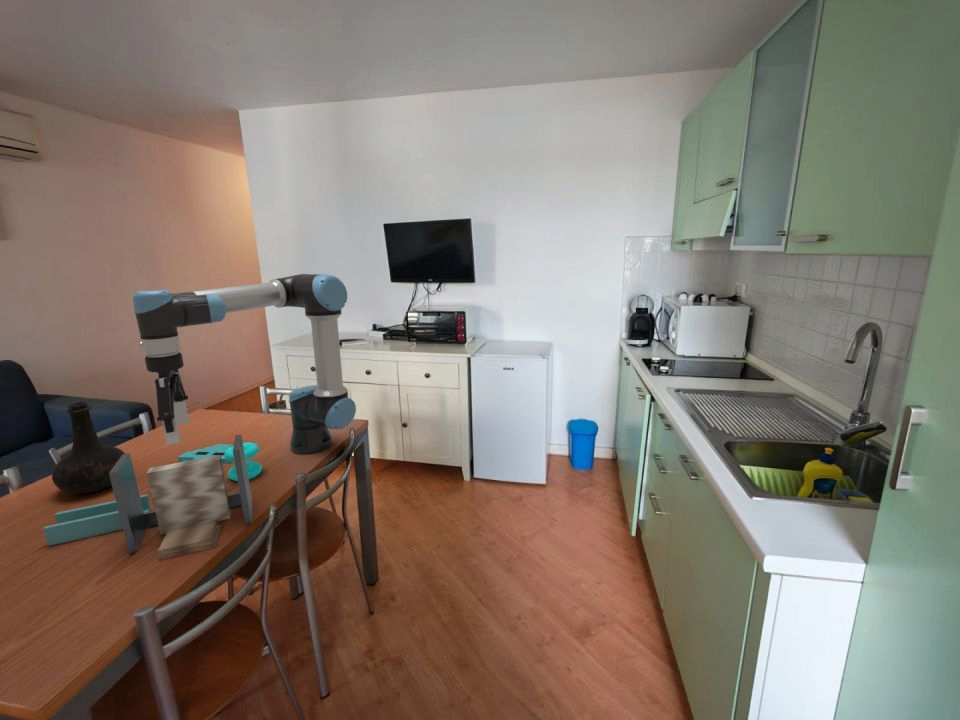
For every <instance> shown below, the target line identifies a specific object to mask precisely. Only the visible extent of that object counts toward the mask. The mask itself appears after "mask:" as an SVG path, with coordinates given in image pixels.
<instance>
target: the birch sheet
mask: <svg viewBox="0 0 960 720" xmlns="http://www.w3.org/2000/svg"><path fill="white" fill-rule="evenodd" d="M174 463H175V464H173V463H170V464H165V465H158V466H155V467H149V469H148V470H147V472H146V476H147V479H148V480H147V481H148V484H149V490H150V493H151V497H152V498H151V499H152V502H153V506H154V507H153V508H154V510H155V512H156V516H157V521H158V525H157V526H158V529H159V534H160V536H161V535H162V536H163V535H166V533H167V532H169V531H174V530H179V529H184V528H189V527H193V526H198V525H203V524H208V523H213V522H216V523H217V522H220V521H226V520H228V519H229V520H230V519H231V513H232V511H231V508H230V506H229V500H228V490H227V484H226V478H225V472H224V466H223V463H222V460H221V455H218V456H213V457H207V458H202V459H197V460H191V461H186V462H177V463H176V462H174Z"/></svg>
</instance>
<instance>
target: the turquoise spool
mask: <svg viewBox="0 0 960 720" xmlns="http://www.w3.org/2000/svg"><path fill="white" fill-rule="evenodd" d="M233 447H234V445H233V446H232V447H230V448H228V449H227V450H226V452H225V458H226V459H227V460H229V461H232V463H235V461H234V455H233ZM243 447H244V453H245V459H246V465H247V472H248V478H249V480H251V479H254V478H256V477H257V476H259V475H260V474H261V472H262V471H263V466H262V465H261V463H260V462H257V461H255V460H250V459H253V458H254V457H256V456H257V455H258V453H259V451H260V447H259V445H258V444H257V443H254V442H243ZM227 477H228V478H229V479H230V480H232V481H234V482H238V479H237V473H236V467H235V464H234V465H233V466H232V467H230V469H229V470H228V472H227Z"/></svg>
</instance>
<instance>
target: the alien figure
mask: <svg viewBox="0 0 960 720" xmlns="http://www.w3.org/2000/svg"><path fill="white" fill-rule="evenodd" d="M232 446H234V444H231V443H230V444H225V443H224V444H223V443H217V444H214V445H212V446H206V447H204V448H197V449H195V450H194V451H191V450H190V451H188V450H187V451H186V452H184V453H182V454H181V455H179V456H178V457H177V460H178V463H180V462H186V461H191V460H197V459H202V458H207V457H213V456H218V455H221V460H222V464H232V463H233V462H232V461H229V460H227V459H226V458H225V452H226V450H227V449H228V448H230V447H232ZM175 463H176V462H174V463H172V464H175Z"/></svg>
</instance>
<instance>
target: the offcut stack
mask: <svg viewBox="0 0 960 720" xmlns="http://www.w3.org/2000/svg"><path fill="white" fill-rule="evenodd" d="M221 530H222V524H217V522H213V523H208V524H203V525H198V526H193V527H189V528H184V529H179V530H174V531H169V532H167V533H166V534H164V535H165V536H164V537H163V540H162V541H161V544H160V546H159V547H158V549H157V552H158V556H157V558H158V561H161V560H165V559H164V558H166V559H170V558H174V556H175V557H179V556H183V555H188V554H191V553H192V554H193V553H196V552H200V551H206V550H211V549H214V548H216V547H217V546H218V545H217V544H218V541H219V538H220V535H221Z"/></svg>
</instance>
